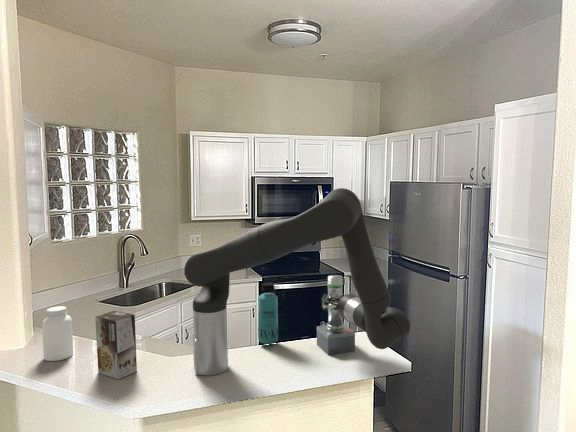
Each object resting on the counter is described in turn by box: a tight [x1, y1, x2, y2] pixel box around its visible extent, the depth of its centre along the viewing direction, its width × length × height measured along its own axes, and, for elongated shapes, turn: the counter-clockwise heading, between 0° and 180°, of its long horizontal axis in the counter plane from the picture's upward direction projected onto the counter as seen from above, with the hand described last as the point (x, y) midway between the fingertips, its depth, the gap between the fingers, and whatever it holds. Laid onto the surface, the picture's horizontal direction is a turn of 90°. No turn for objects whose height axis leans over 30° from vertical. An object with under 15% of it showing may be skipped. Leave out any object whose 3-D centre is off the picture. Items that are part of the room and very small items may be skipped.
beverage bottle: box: [257, 282, 279, 345], centre depth 134 cm, size 6×7×20 cm
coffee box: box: [94, 310, 138, 380], centre depth 115 cm, size 9×6×16 cm
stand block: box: [316, 324, 356, 356], centre depth 131 cm, size 9×9×6 cm
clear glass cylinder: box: [326, 274, 346, 330], centre depth 130 cm, size 6×6×16 cm
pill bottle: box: [41, 305, 74, 362], centre depth 127 cm, size 8×8×15 cm
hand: (331, 296), depth 132 cm, fingers closed on clear glass cylinder, 4 cm apart
